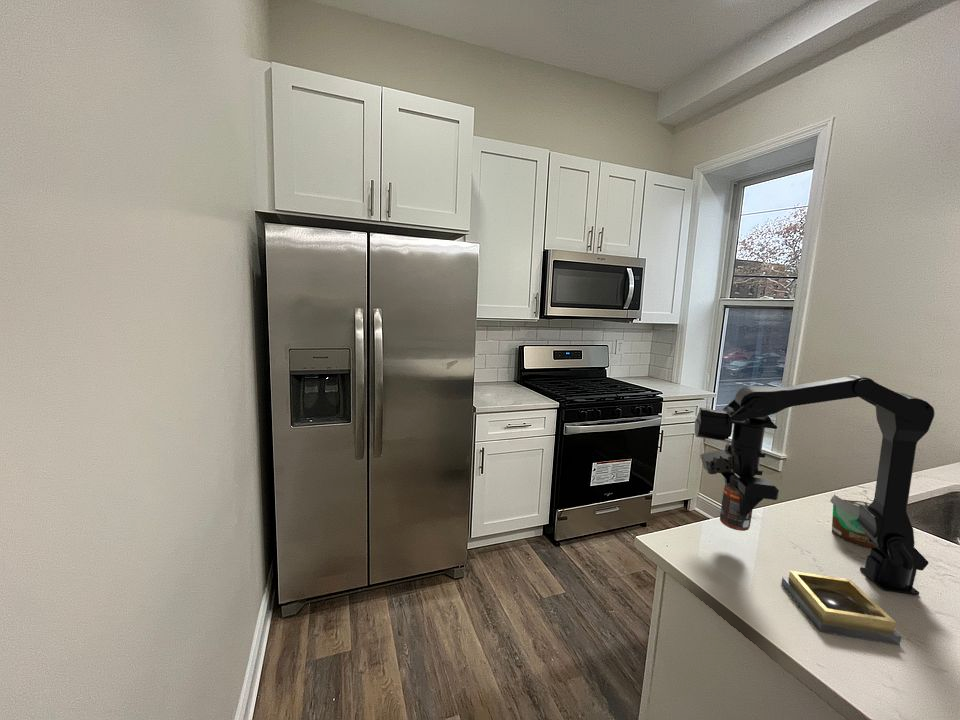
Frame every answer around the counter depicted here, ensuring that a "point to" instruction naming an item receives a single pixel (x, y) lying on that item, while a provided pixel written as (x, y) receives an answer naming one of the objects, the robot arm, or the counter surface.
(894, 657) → the counter surface
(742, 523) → the supplement bottle
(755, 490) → the robot arm
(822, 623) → the gold-rimmed square tray
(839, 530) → the food container
